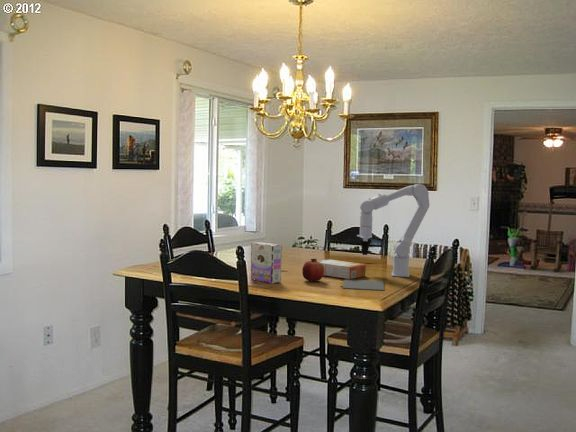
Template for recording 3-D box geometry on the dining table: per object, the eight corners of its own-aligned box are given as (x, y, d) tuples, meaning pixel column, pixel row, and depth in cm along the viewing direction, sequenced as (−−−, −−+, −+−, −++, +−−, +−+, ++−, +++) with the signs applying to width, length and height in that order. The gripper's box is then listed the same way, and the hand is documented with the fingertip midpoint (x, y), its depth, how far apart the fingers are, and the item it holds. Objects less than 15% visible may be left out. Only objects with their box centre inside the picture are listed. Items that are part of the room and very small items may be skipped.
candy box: (281, 282, 261) (282, 244, 260) (271, 284, 257) (272, 245, 256) (260, 278, 271) (261, 241, 269) (250, 279, 267) (250, 242, 265)
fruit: (306, 278, 273) (306, 256, 272) (327, 280, 269) (328, 258, 268) (297, 282, 263) (298, 259, 262) (319, 284, 259) (320, 261, 259)
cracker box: (365, 277, 283) (328, 270, 296) (366, 264, 282) (329, 258, 295) (349, 280, 272) (311, 273, 285) (350, 267, 271) (312, 260, 284)
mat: (344, 280, 272) (344, 279, 272) (383, 282, 270) (383, 281, 270) (342, 288, 252) (342, 287, 252) (384, 290, 250) (384, 289, 250)
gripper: (357, 224, 295) (356, 252, 296) (357, 227, 281) (356, 256, 282) (372, 225, 294) (371, 253, 295) (372, 227, 280) (371, 257, 281)
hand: (364, 254), depth 288 cm, fingers closed
